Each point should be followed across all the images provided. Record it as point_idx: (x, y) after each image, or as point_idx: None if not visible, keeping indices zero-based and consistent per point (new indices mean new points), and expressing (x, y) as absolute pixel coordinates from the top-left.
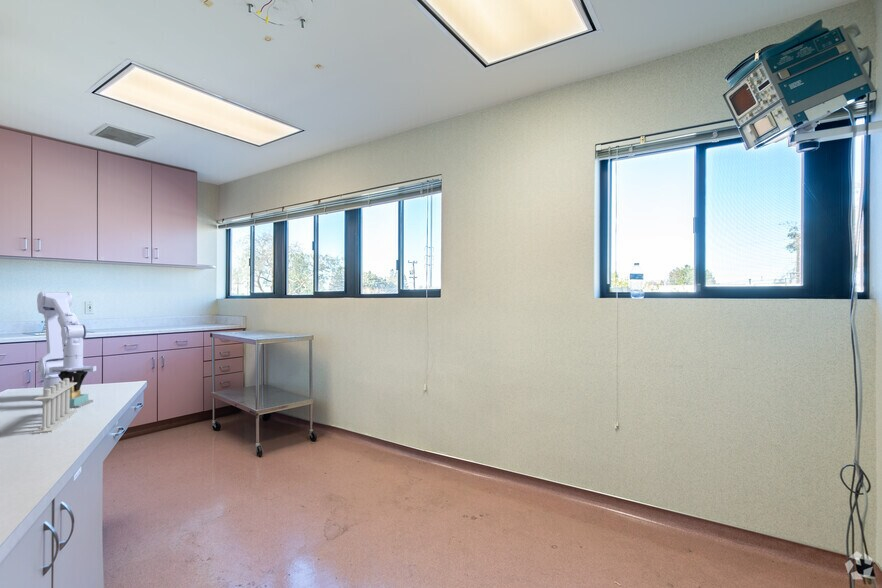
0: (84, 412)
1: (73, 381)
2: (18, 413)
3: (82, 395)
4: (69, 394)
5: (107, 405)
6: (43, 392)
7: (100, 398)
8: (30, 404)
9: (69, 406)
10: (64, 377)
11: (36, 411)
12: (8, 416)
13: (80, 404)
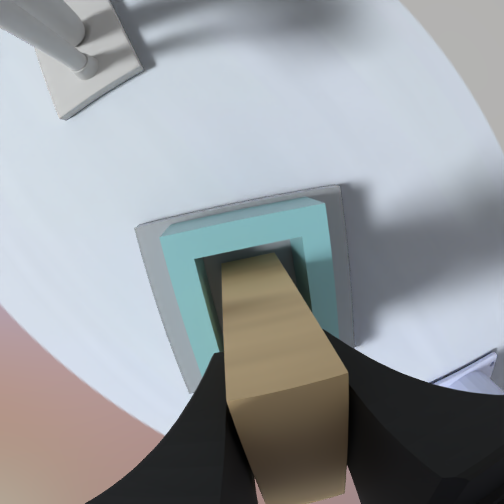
0: (16, 117)
1: (257, 438)
2: (435, 92)
3: None
4: (3, 26)
5: (18, 292)
6: (500, 388)
7: None
8: (493, 292)
9: (201, 211)
10: (418, 436)
11: (377, 124)
12: (426, 35)
13: (154, 266)
